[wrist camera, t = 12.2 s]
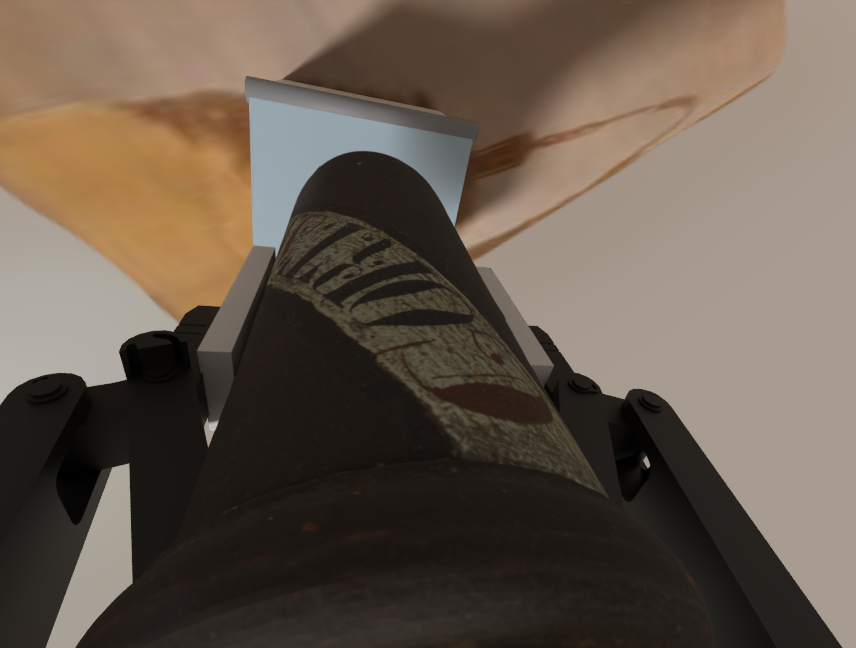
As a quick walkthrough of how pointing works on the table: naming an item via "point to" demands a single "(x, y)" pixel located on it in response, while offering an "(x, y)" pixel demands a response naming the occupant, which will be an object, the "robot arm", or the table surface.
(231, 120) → the table surface
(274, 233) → the lid
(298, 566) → the container
